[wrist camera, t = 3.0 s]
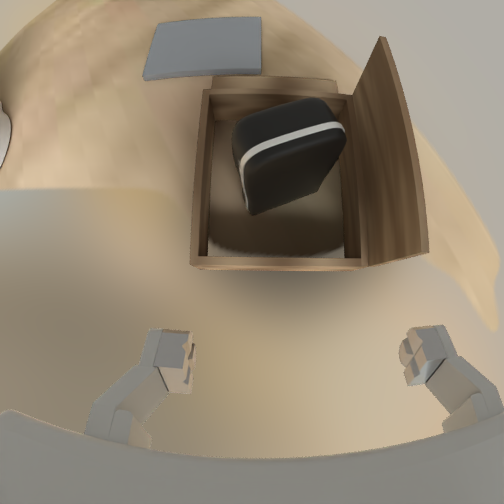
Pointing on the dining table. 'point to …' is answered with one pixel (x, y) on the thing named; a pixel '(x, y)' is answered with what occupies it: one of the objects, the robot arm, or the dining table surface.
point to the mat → (205, 48)
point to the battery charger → (286, 152)
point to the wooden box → (351, 162)
